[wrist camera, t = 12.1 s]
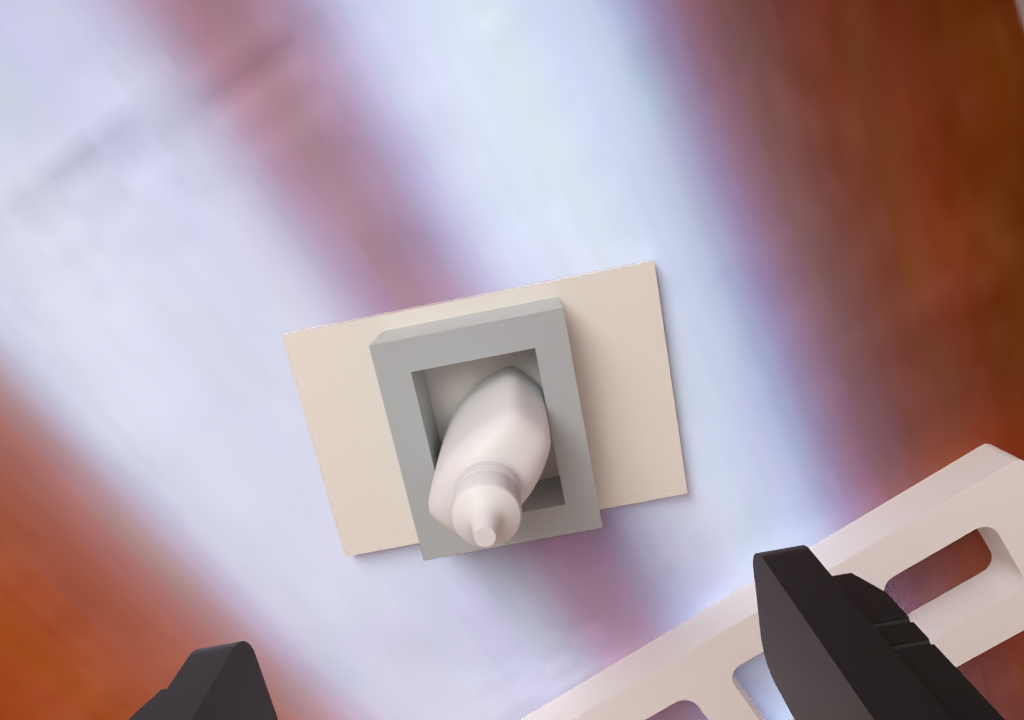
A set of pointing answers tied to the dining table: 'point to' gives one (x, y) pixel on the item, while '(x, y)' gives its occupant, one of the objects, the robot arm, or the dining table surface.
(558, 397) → the holder stand
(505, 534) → the eye dropper bottle
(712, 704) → the holder
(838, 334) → the dining table surface
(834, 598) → the robot arm
